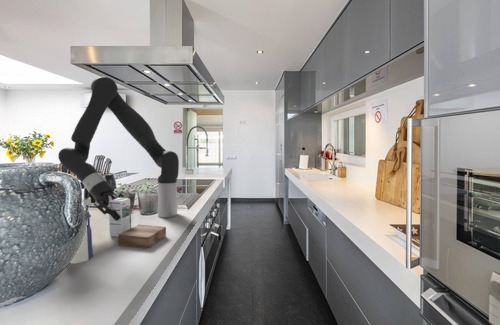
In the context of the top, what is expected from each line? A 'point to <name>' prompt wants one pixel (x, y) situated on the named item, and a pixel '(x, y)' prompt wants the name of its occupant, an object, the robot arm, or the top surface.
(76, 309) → the top surface
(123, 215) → the syrup box
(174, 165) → the robot arm
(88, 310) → the top surface
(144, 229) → the walnut block
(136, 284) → the top surface
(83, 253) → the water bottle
